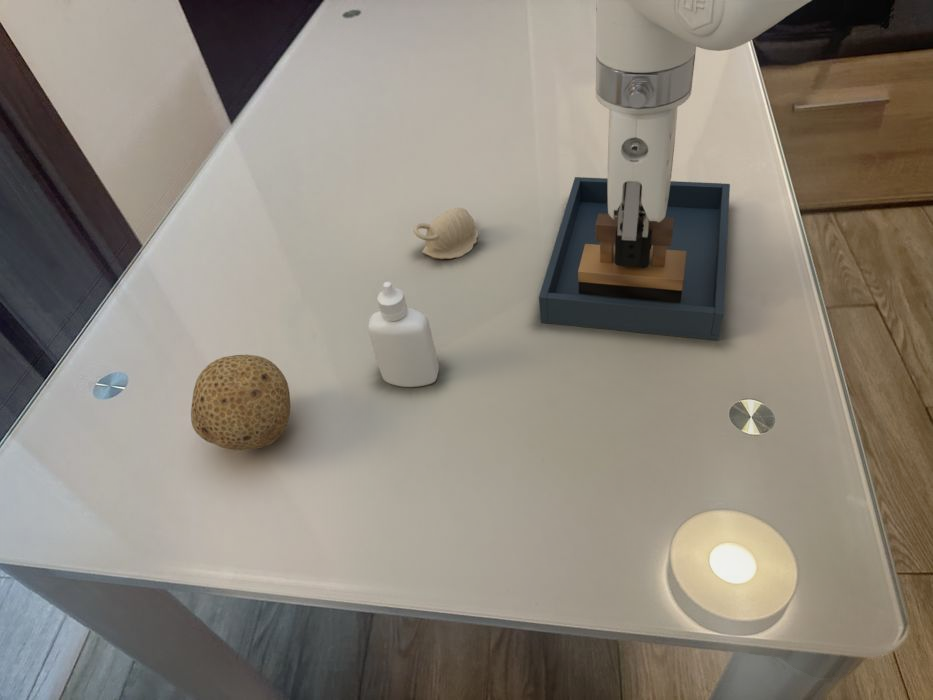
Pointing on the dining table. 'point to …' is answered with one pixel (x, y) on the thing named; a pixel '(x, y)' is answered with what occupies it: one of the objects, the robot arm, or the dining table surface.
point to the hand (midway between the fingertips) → (633, 255)
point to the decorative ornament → (449, 234)
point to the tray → (694, 231)
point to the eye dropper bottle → (402, 341)
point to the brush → (632, 282)
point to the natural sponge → (240, 403)
